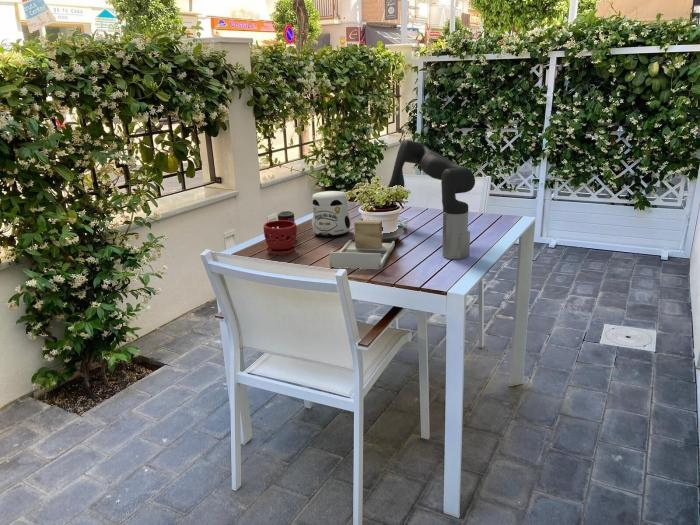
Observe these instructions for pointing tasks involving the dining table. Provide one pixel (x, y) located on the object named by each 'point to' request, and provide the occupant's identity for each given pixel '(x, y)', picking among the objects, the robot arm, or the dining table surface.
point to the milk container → (330, 214)
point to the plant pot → (280, 237)
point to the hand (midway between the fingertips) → (371, 228)
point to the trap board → (361, 256)
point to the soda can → (286, 216)
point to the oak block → (368, 234)
